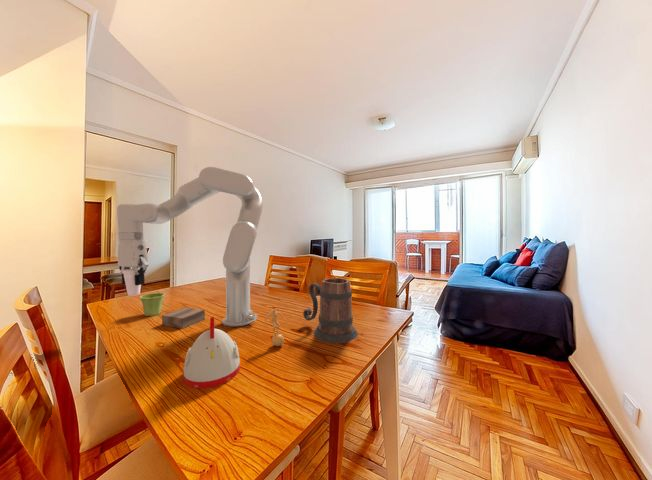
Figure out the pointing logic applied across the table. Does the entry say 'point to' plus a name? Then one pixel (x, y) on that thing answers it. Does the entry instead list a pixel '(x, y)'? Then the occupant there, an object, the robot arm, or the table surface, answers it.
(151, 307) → the plant pot
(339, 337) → the tankard
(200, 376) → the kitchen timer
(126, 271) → the smoothie
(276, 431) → the table surface
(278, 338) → the figurine
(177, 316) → the plinth
